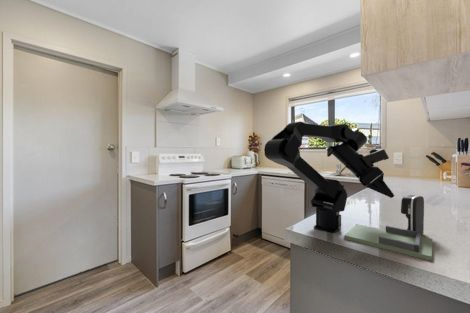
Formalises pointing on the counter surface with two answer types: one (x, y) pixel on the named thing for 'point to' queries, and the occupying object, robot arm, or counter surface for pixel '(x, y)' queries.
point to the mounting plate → (392, 240)
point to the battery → (414, 212)
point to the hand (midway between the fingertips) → (389, 194)
